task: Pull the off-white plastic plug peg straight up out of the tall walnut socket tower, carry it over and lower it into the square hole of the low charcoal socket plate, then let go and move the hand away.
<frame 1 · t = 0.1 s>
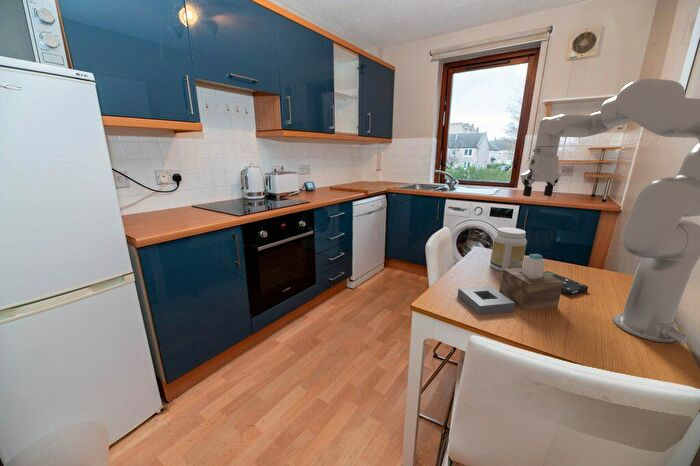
hand: (537, 196, 115), 31 cm above the table, tool pointing down, fingers open, 9 cm apart
disk drive: (556, 287, 107), on the table
upper socket tower: (526, 299, 96), on the table
plug peg: (529, 286, 95), point 5 cm above the table, touching upper socket tower
supplement tub: (505, 268, 123), on the table
lower socket plate: (484, 303, 93), on the table
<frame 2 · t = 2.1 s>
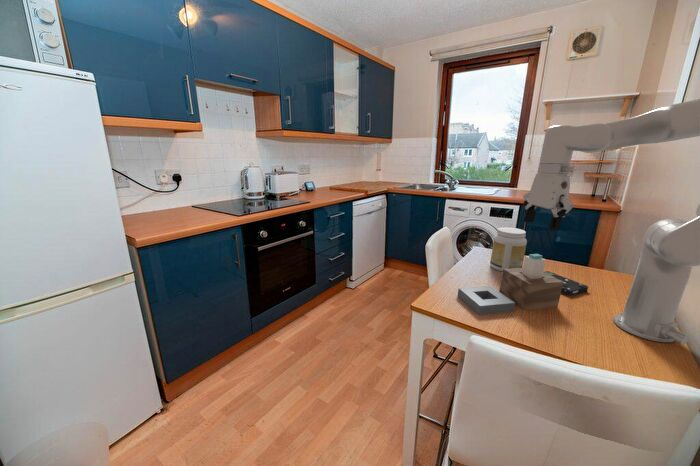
hand: (540, 225, 89), 26 cm above the table, tool pointing down, fingers open, 9 cm apart
nothing on the table moved.
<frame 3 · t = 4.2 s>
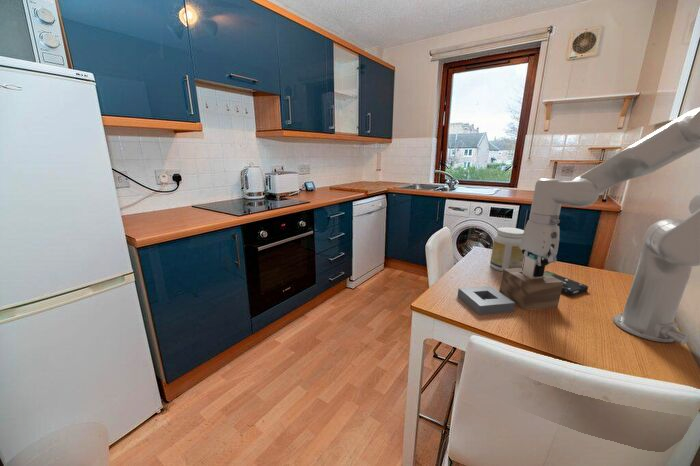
hand: (532, 272, 94), 10 cm above the table, tool pointing down, fingers closed on plug peg, 4 cm apart
plug peg: (530, 286, 95), point 5 cm above the table, touching gripper, upper socket tower
everything else where it was.
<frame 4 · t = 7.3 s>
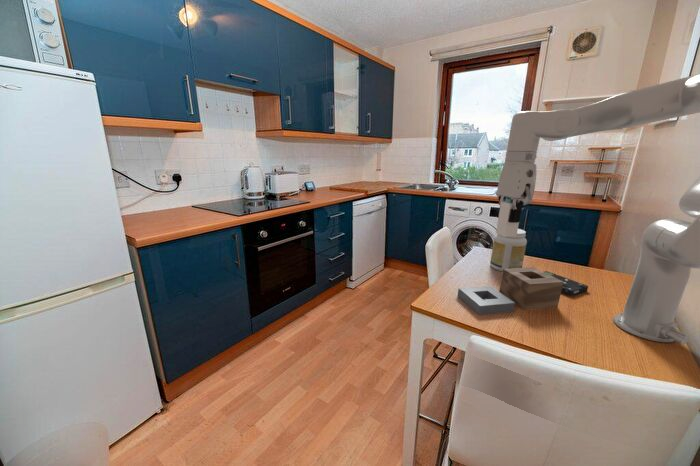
hand: (508, 219, 87), 28 cm above the table, tool pointing down, fingers closed on plug peg, 4 cm apart
plug peg: (506, 234, 88), point 23 cm above the table, touching gripper
everything else where it was.
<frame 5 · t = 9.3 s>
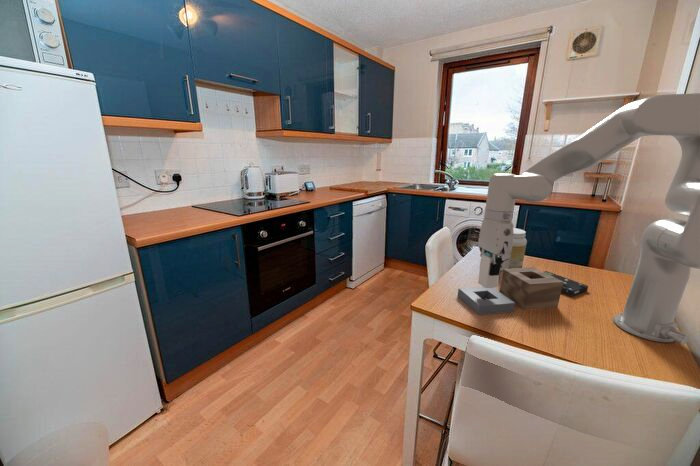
hand: (489, 271, 90), 11 cm above the table, tool pointing down, fingers closed on plug peg, 4 cm apart
plug peg: (487, 285, 92), point 7 cm above the table, touching gripper
everything else where it was.
when the fingers open (6 cm above the table, at t = 10.7 s): plug peg drops 2 cm, resting in lower socket plate.
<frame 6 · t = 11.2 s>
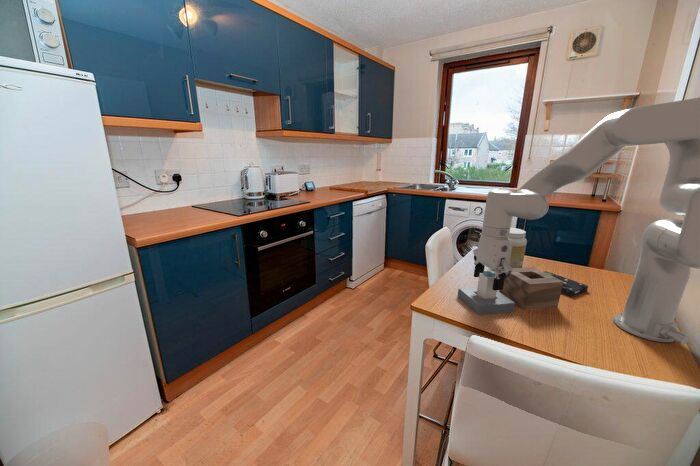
hand: (487, 282, 91), 7 cm above the table, tool pointing down, fingers open, 9 cm apart
plug peg: (484, 303, 93), resting in lower socket plate
everything else where it was.
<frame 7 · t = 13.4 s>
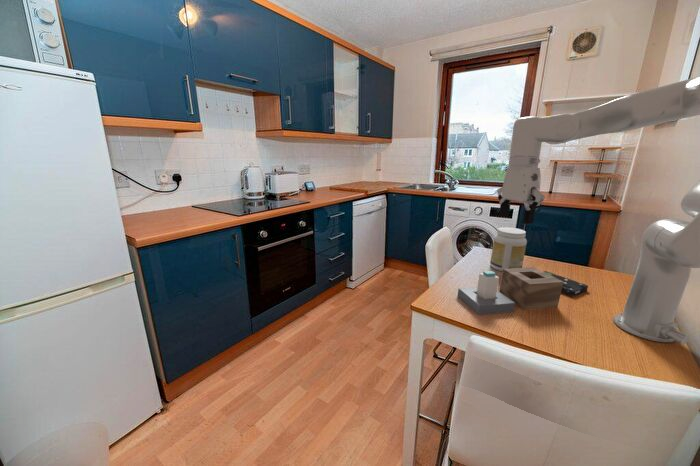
hand: (515, 219, 88), 28 cm above the table, tool pointing down, fingers open, 9 cm apart
nothing on the table moved.
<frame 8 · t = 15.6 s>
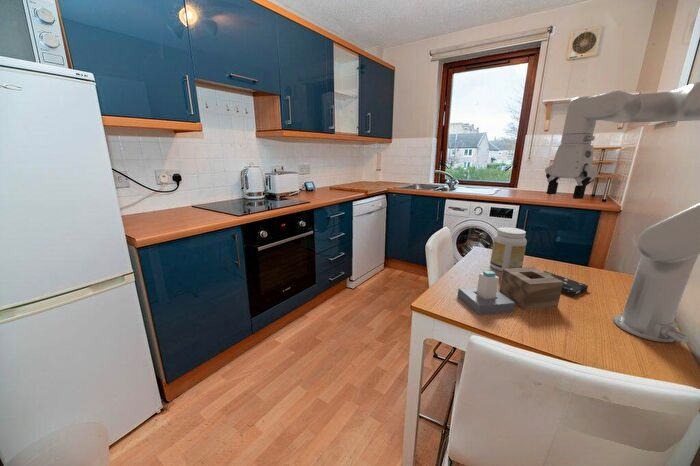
hand: (563, 196, 92), 34 cm above the table, tool pointing down, fingers open, 9 cm apart
nothing on the table moved.
at the end: plug peg 0.2 cm off-centre on the lower socket plate, point 0.0 cm above the lower socket plate's base; plug peg tilted 0°; the gripper is holding nothing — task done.
